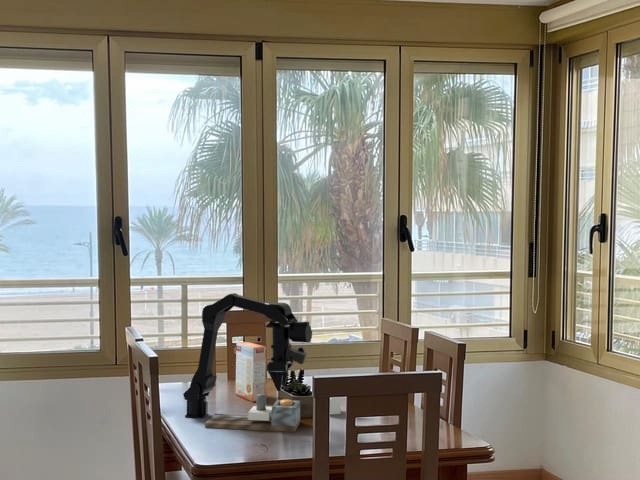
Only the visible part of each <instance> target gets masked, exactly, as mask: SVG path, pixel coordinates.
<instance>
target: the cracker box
mask: <svg viewBox="0 0 640 480" xmlns="http://www.w3.org/2000/svg"><path fill="white" fill-rule="evenodd" d="M235 346H236V351H235V352H236V353H235V356H236V358H235V394H234V395H235V396H237V397H240V398H242V399H244V400H247V401H250V402H257V394H266V371H267V364H266V362H267V357H266V355H267V346H264V345H260V344H257V343H254V342H249V341H243V342H241V341H240V342H236V345H235Z"/></svg>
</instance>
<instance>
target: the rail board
mask: <svg viewBox="0 0 640 480" xmlns="http://www.w3.org/2000/svg"><path fill="white" fill-rule="evenodd" d="M281 400H282V399H276V400H275V402H274V403H273V405H271V407H272V417H271V419H270V420H269V421H263V420H248V414H234V413H233V414H231V413H214V414H213V415H212V416H210V418H208V419H207V420H206V421H205V422H204V423H205V424H204V427H205V428H209V429H210V428H211V429H227V430H229V429H231V430H249V431H271V432H287V433H288V432H291V433H296V431H297V429H298V427H299V425H300V423H301V400H292V399H291V400H292V406H280V401H281Z"/></svg>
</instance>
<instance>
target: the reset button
mask: <svg viewBox="0 0 640 480" xmlns="http://www.w3.org/2000/svg"><path fill="white" fill-rule="evenodd" d="M280 400H281V401H280V406H292V399H288V398H287V399H286V398H285V399H280Z"/></svg>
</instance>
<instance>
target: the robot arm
mask: <svg viewBox="0 0 640 480" xmlns="http://www.w3.org/2000/svg"><path fill="white" fill-rule="evenodd" d="M234 307H235V308H239V309H242V310H243V309H244V310H246V311H249V312H253V313H257V314H261V315H263V316H264V317H265V318H266V319H269V320H270V322H269V323H267V324H266V325H265V328H267V329H269V328H271V333H272V335H271V338H272V339H271V340H272V343H271V345H270V349H272V350H271V351H272V353H271V354H272V355H271V357H270V359H271V360H270V361H269V362H268V363H267V364H266V371H267V372H268V374H269V376H270V378H271V380H272V383H273V384H274V387H275V390H276V391H277V392H281V389H282V386H285V385H286V384H287V378H288V373H289V369H290V368H291V367H292V366H293V365H294V363H295V362H296V363H297V364H299V365H303V364H304V363H305V361H306V358H307V352H306V351H305V347H301V346H300V347H299V348H292V343H310V342H311V341H312V338H313V330H312V327H311V324H310V321H307V320H306V321H298V319H297V318H296V316H295V314H293V312H292V308H291V306H290V304H288V303H286V302H278V301H277V302H275V301H274V302H269V301H267V302H266V301H262V300H259V299H256V298H252V297H249V296H248V297H247V296H244V295H240V294H238V293H228V294H226V295H225V296H224V297H223V298H221V299H219V300H217V301H216V302H215V301H214V303H211V304H207V305H206V306H204V307H203V308H202V312H201V321H202V322H201V323H202V324H203V336H202V340H201V341H202V342H201V347H200V348H201V349H200V353H199V361H198V366H197V370H196V371H195V373H194V374H193V376H192V379H191V382H190V384H189V388H187V389H186V390H185V392H184V393H183V395H182V396H183V399H184V400H185V401H186V414H185V415H184V417H185V418H198V419H199V418H201V419H202V418H204V417H206V415H208V413H209V402H208V401H207V397H209V396H210V392H211V391H213V389H214V387H216V379H217V374H214V373H213V363H214V357H215V351H216V346H217V339H218V333H219V330H220V328H221V326H222V325H223V322H224V320H225V317H226V314H227V313H228V312H229V311H231V310H232V309H233V308H234ZM290 341H291V342H292V343H291V342H290Z"/></svg>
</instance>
